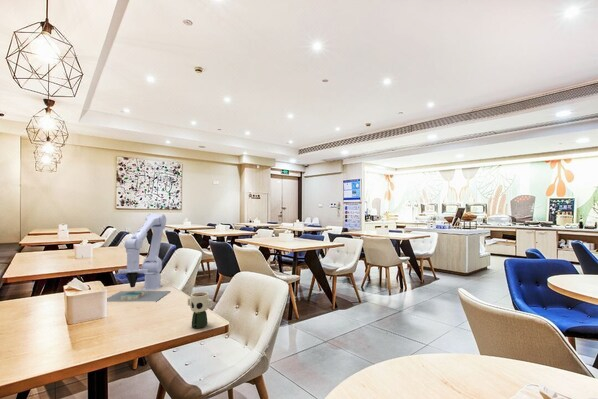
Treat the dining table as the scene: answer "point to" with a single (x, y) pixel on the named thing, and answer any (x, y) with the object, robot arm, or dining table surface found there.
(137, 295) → the birch tile
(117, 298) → the rubber mat
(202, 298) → the character mug
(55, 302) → the dining table surface
